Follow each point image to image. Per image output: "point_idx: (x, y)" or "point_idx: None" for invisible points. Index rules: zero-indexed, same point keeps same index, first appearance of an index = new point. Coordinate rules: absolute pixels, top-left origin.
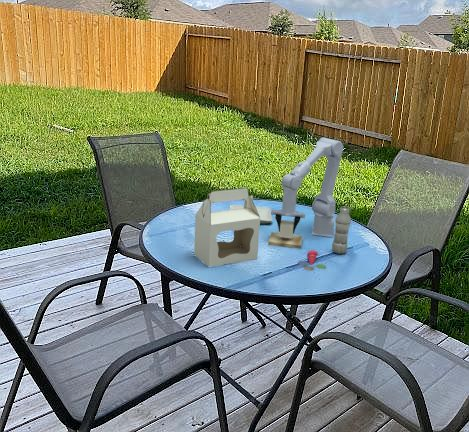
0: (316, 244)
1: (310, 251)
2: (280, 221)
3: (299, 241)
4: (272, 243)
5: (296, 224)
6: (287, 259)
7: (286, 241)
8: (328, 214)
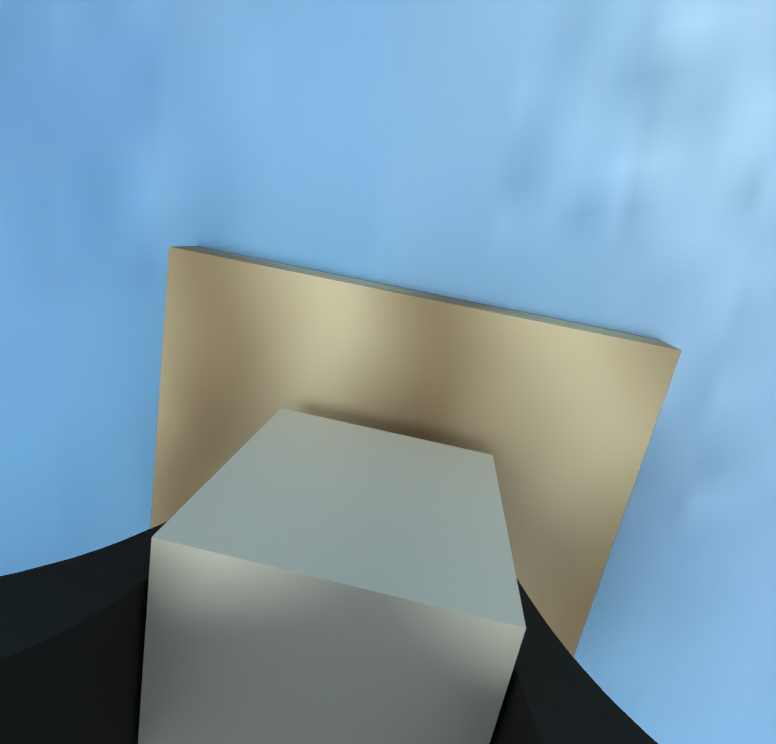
0: (5, 419)
1: None
2: (536, 715)
3: (188, 404)
4: (604, 333)
5: (61, 572)
6: None
7: (378, 387)
8: None
